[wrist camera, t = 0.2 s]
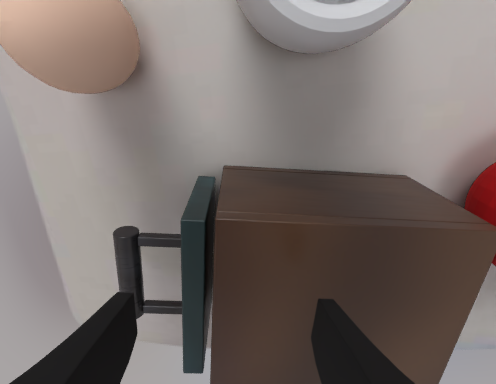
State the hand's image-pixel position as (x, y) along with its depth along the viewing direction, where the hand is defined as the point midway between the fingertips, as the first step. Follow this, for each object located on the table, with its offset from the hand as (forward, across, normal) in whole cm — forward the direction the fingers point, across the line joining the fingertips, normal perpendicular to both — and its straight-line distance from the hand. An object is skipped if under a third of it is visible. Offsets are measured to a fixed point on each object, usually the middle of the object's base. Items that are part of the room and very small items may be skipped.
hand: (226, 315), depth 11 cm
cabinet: (+11, -6, +3) cm, 13 cm away
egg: (+12, +8, -10) cm, 17 cm away
